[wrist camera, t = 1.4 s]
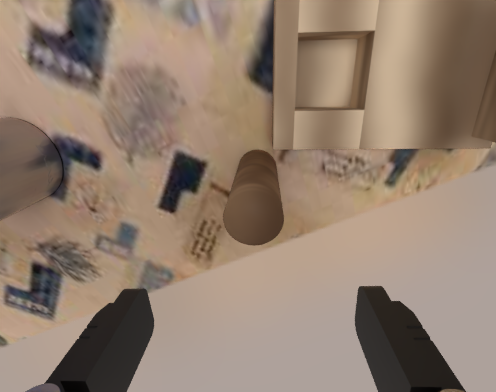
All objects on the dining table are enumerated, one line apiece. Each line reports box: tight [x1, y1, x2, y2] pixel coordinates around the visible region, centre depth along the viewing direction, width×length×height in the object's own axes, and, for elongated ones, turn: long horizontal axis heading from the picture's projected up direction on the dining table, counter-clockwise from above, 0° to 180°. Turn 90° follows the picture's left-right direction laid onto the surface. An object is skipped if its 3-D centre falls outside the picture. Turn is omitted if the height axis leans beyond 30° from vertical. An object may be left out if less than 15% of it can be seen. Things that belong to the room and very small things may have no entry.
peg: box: [223, 150, 284, 245], centre depth 24 cm, size 4×4×12 cm
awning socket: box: [272, 0, 496, 150], centre depth 18 cm, size 18×13×16 cm
